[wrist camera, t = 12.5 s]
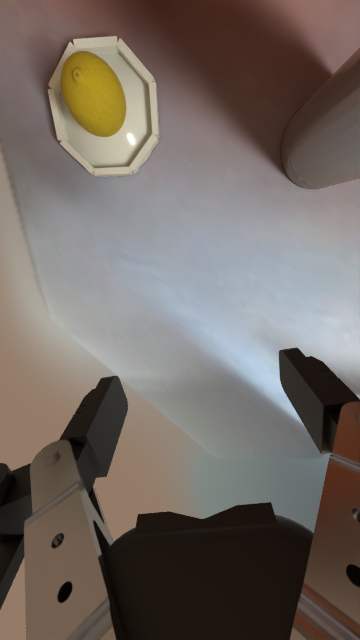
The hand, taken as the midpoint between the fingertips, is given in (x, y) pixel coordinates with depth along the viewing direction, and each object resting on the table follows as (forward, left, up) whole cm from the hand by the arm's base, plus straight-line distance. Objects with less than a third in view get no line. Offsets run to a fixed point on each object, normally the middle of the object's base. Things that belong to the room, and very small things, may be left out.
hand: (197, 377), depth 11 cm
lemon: (-7, -19, -23) cm, 31 cm away
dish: (-7, -20, -24) cm, 32 cm away
